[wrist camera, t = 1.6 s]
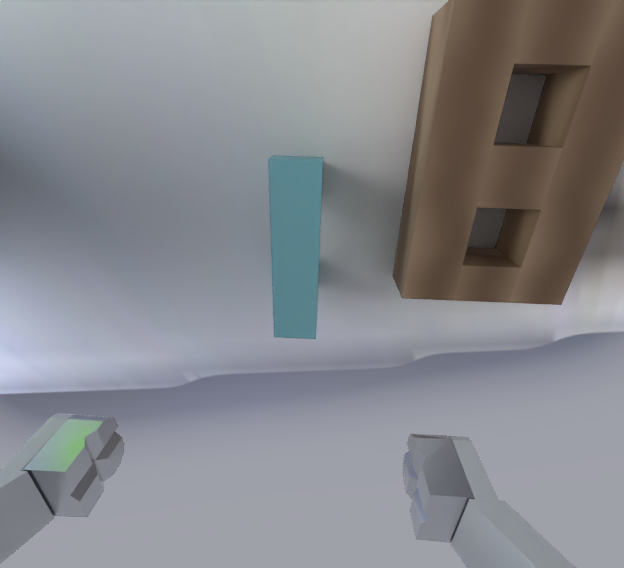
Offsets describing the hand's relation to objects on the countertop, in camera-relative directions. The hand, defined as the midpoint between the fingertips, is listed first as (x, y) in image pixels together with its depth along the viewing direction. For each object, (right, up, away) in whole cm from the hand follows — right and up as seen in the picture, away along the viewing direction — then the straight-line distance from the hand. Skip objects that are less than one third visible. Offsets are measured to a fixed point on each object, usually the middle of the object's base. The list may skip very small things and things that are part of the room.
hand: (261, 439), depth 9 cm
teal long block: (+1, +9, +18) cm, 20 cm away
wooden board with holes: (+15, +13, +15) cm, 25 cm away
